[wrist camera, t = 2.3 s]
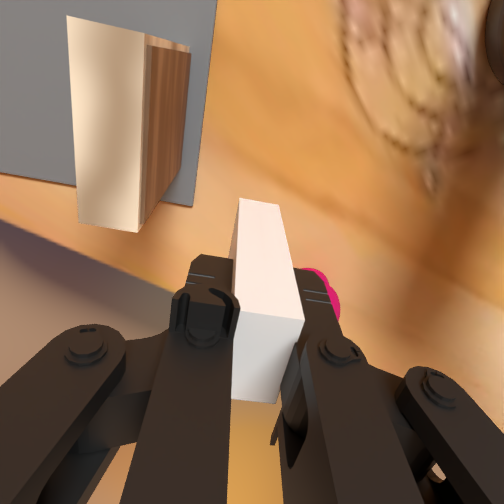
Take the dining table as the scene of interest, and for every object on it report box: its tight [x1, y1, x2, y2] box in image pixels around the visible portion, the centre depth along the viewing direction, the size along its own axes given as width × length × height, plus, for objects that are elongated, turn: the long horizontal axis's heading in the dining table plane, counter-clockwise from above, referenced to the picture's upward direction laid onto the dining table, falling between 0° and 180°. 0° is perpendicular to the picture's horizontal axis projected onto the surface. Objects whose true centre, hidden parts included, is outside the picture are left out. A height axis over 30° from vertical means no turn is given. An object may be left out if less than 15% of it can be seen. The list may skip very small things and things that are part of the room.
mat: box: [0, 0, 217, 206], centre depth 33 cm, size 26×21×1 cm
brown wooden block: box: [66, 15, 192, 233], centre depth 27 cm, size 4×12×16 cm, turn 169°
